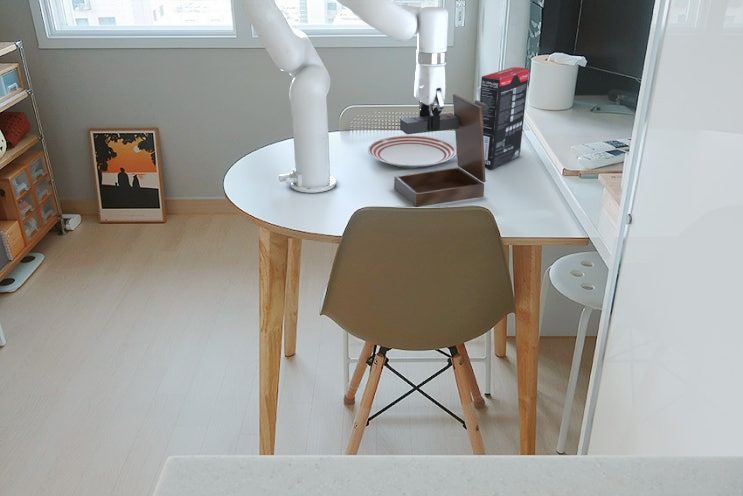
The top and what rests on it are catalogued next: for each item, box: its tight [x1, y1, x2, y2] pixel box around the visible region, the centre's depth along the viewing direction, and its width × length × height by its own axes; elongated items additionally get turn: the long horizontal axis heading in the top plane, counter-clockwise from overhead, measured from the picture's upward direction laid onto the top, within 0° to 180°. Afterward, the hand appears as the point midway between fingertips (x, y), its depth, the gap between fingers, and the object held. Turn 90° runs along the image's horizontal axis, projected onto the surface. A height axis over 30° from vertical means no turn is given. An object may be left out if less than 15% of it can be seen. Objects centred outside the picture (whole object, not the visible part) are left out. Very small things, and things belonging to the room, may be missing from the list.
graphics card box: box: [480, 66, 530, 170], centre depth 209 cm, size 17×7×27 cm, turn 141°
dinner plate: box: [367, 134, 457, 169], centre depth 217 cm, size 28×27×3 cm
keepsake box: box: [393, 166, 485, 208], centre depth 189 cm, size 20×15×4 cm
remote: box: [399, 112, 459, 135], centre depth 188 cm, size 15×5×3 cm, turn 109°
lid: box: [452, 93, 488, 184], centre depth 187 cm, size 20×15×5 cm
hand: (429, 126), depth 188 cm, fingers closed on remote, 5 cm apart
